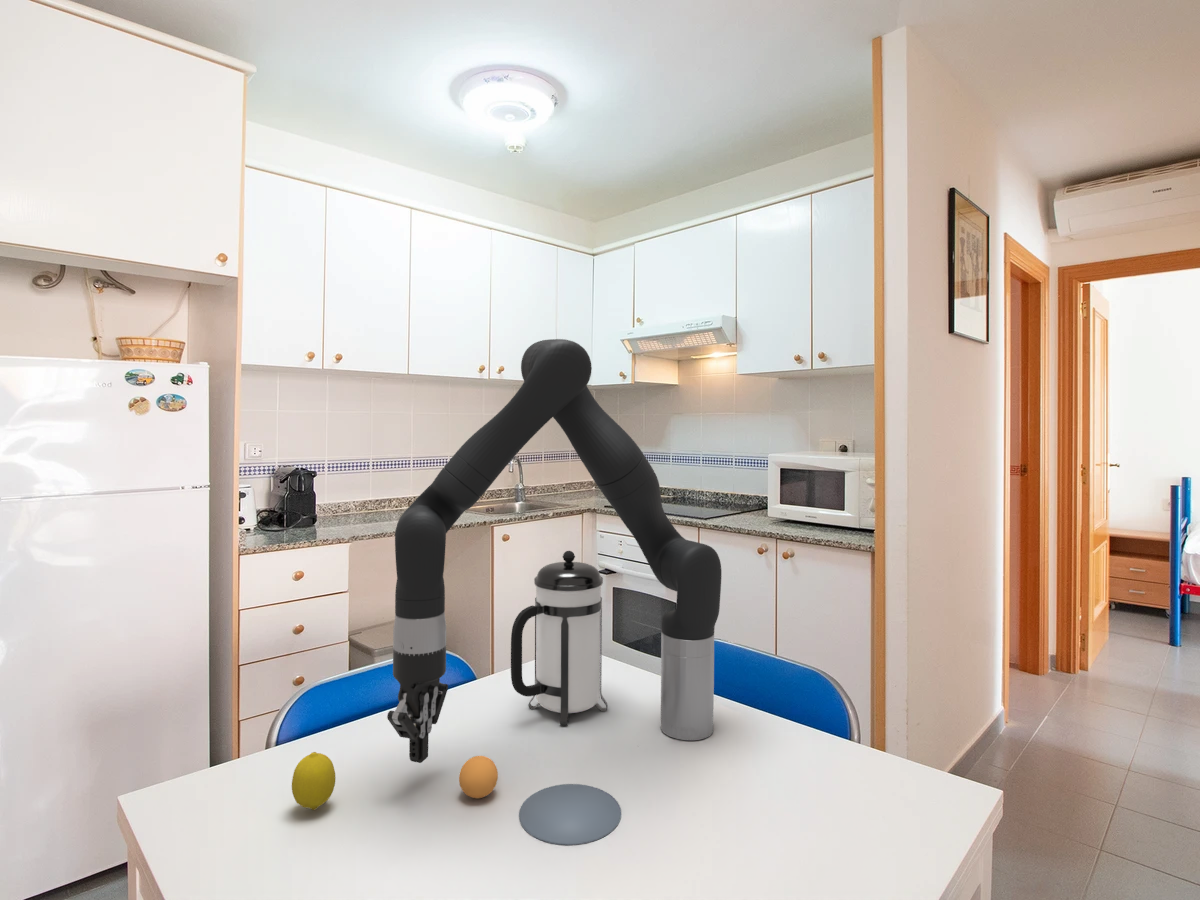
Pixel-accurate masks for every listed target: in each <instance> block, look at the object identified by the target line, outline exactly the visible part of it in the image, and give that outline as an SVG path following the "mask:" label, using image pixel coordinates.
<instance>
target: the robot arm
mask: <svg viewBox="0 0 1200 900" xmlns="http://www.w3.org/2000/svg"><path fill="white" fill-rule="evenodd" d="M520 371H521V377H522V379H523V381H524V382H523V383H522V384H521V386H520V387H519V388H518V390H517V392H516V393H515V394H514V395H513V396H512V398H511V399H510V400H509V401H508V403H507V404H506V405H504V407H503V408H502V409H501V410H500V411H499V412H497V414H496V415H494V416H493V417H492V418H491V419H489V421H487V423H485V424H484V425H483V426H481V427H480V428H479V429H478V430H476V431H475V432H474V433H473V434H472V435H471V436H469V438H468V439H467V440H466V441H465V442H464V443H463V444H462V445H461V446H460V447H459V449H458V450H457V451H456V452H455V453H454V454H453V456H452V457H451V458H450V459H449V460H448V461H447V463H446V464H445V465H444V466H443V467H442V469H441V470H440V471H439V472H438V474H437V475H436V477H435V478H434V480H433V481H432V482H431V483H430V485H429V486H428V487H426V488H425V490H424V491H423V492H422V493H420V495H419V496H418V497H416V499H415V500H413V502H412V503H411V504H410V505H409V506H408V508H406V510H404V512H403V513H402V515H400V518H399V519H398V521H397V524H396V527H395V532H394V549H395V550H394V552H395V553H394V554H395V568H396V571H395V572H396V584H395V593H394V595H395V596H394V597H395V598H394V599H395V600H394V602H395V604H394V605H395V606H394V608H395V609H394V624H393V630H392V631H393V633H392V634H393V635H392V636H393V637H392V641H393V642H392V646H393V647H392V675H393V677H394V679H395V680H396V681H397V682H398V683H399V685H400V686H399V690H398V694H397V699H398V700H397V701H398V702H399V703H398V704H397V706H396V708H395V710H389V711H388V713H387V716H386V719H387V720H388V721H389V723H390V724H391V726H392V727H393V729H394V731H395V732H396V734H398V736H399V737H400V738H403V739H409V741H408V743H409V744H408V746H409V760H410V761H411V762H412V763H419V764H421V763H423V762H425V760H426V759H428V757H429V734H431V732H432V729H433V727H432V725H437V723H438V720H439V717H440V715H441V710H442V709H443V706H444V702H445V699H446V695H447V694H448V689H449V684H448V683H443V682H441V681H440V680H441V677H443V676H445V674H446V671H447V621H446V613H445V609H446V607H445V605H446V600H445V599H446V589H445V588H446V587H445V579H444V573H445V571H444V570H445V559H446V544H447V543H446V542H447V540H446V539H447V533H448V532H449V531H450V529H451V528H452V527H453V526H454V524H455V523H456V522H457V520H459V518H460V517H461V516H462V515H463V513H465V511H466V510H469V509H471V508H472V507H473V506H475V504H476V503H477V502H478V501H479V500H480V498H481V497H482V496H483V495H484V494H485V493H486V491H488V489H489V488H490V487H491V485H493V483H494V482H495V480H496V479H497V478H498V477H499V476H500V474H501V473H502V472H503V471H504V470H505V468H506V467H507V466H508V465H509V463H510V462H511V461H512V460H513V459H514V457H515V456H516V455H517V454H518V453H519V452H520V451H521V450H522V448H523V447H524V446H526V444H527V443H529V441H530V440H531V439H532V438H534V436H535V435H536V434H537V433H538V432H539V431H540V430H541V429H542V428H543V427H544V426H545V425H547V424H548V422H549V421H550V420H551V419H552V418H553V419H554V420H555V421H556V423H557V424H558V426H560V428H561V429H562V431H563V432H564V433H565V436H566V437H567V438H568V440H569V442H570V444H571V445H572V447H573V449H574V451H575V453H576V454H577V456H578V458H579V459H580V460H581V463H582V464H583V465H584V467H585V469H586V471H588V473H589V475H590V476H591V478H592V480H593V481H594V483H595V484H596V486H597V487H598V488H599V490H600V491H601V493H602V495H603V496H604V497H605V499H606V500H607V501H608V503H609V504H610V505H611V507H612V508H613V509H614V511H615V513H616V514H617V515H618V517H619V518H620V520H621V522H622V523H623V524H624V525H625V527H626V528H627V529H628V530H629V532H630V533H631V535H632V536H633V537H634V540H635V541H636V542H637V545H638V547H639V548H640V551H641V552H642V554H643V557H644V558H645V560H646V562H647V563H648V565H649V567H650V569H651V571H652V573H653V574H654V576H655V578H656V579H657V580H658V582H659V583H660V584H661V585H663V586H664V587H665V588H666V589H670V590H672V591H675V592H676V602H675V603H676V604H675V609H673V610H670V611H667V612H665V613H664V614H663V615H662V617H661V625H660V626H661V629H660V630H661V631H660V632H661V633H660V635H661V637H660V638H661V639H660V643H661V645H660V649H661V650H660V651H661V652H660V730H661V731H662V732H663V733H664V734H665V735H667V736H668V737H671V738H673V739H675V740H676V739H677V740H681V741H699V740H703V739H707V738H709V737H710V736H712V734H713V732H714V707H715V706H714V701H715V700H714V699H715V698H714V697H715V695H714V693H715V692H714V691H715V689H714V688H715V626H716V623H717V620H718V618H719V614H720V607H721V606H720V605H721V593H722V592H721V591H722V564H721V559H720V556H719V554H718V553H717V550H715V549H714V548H713V547H712V546H709V545H708V544H705V543H701V542H698V541H693V540H688V539H686V538H684V537H683V536H682V535H681V534H680V533H679V531H677V529H676V527H674V525H673V524H672V522H671V521H670V520H669V518H668V515H666V513H665V510H664V507H663V504H662V497H661V496H662V494H661V488H660V487H661V486H660V483H659V479H658V477H657V474H656V473H655V470H654V469H653V466H652V465H651V464H650V462H649V461H648V459H647V457H646V456H645V454H644V452H643V451H642V450H641V448H640V447H639V446H638V444H637V443H636V441H634V439H633V438H632V437H631V436H630V435H629V434H628V433H627V431H625V430H624V429H623V428H622V427H621V426H620V425H619V424H618V423H617V422H616V421H615V420H614V419H613V418H612V417H611V416H610V415H609V414H608V413H607V412H606V411H605V410H604V409H603V408H602V407H601V406H600V404H599V403H598V401H596V399H595V398H594V396H593V394H592V392H591V391H590V389H589V387H588V386H587V385H588V384H589V381H590V379H591V377H592V361H591V358H590V355H589V354H588V351H587V350H586V349H585V348H584V347H583V346H582V345H580V344H579V343H577V342H575V341H573V340H571V339H570V340H569V339H566V338H565V339H563V338H562V339H561V338H556V339H555V338H554V339H543V340H539V341H536V342H534V343H532V344H531V345H530V346H528V347H527V348H526V349H525V351H524V353H523V355H522V357H521V362H520Z"/></svg>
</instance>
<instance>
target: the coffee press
mask: <svg viewBox="0 0 1200 900" xmlns="http://www.w3.org/2000/svg"><path fill="white" fill-rule="evenodd" d="M575 558H576V556H575V554H574V552H573V551H572V550H566V551H565V552H563V554H562V559H563V561H559V562H557V561H556V562H554V563H553V562H552V563H549V564H546V565H544V566H543V567H541V568H540V569H539V571H538V572H537V574H536V576H535V577H534V579H533V580H534V581H533V582H534V585H535V587H536V588H535V589H536V590H535V591H536V592H535V593H536V595H535V596H536V597H534V605H530V606H527V607H525V608H523V609H522V610H521V611H520V612H519V613H518V614H517V616H516V617H515V619H514V622H513V624H512V627H511V633H510V634H511V637H510V679H511V680H510V681H511V685H512V687H513V689H514V690H515V692H517V694H519V695H520V696H524V697H532V698H531V699H530V700H529V702H528V709H530V710H531V711H533V710H535V709H537V708H538V707H539V706H541V707H542V708H544V709H545V710H548V711H551V712H554V713H558V714H559V713H560V715H559V726H561V727H562V726H563V727H564V726H566V727H568V726H569V716H570V714H574V713H575V714H576V713H580V712H581V713H582V712H585V711H587V710H589V709H592V708H593V707H596V708H597V709H598V710H599V711H600V712H602V713H605V712H606V711H607V710H608V705H609V704H608V702H607V700H606V699H605V698H604V696H603V693H602V692H603V691H602V676H603V675H602V665H603V664H602V654H603V653H602V650H603V649H602V648H603V646H602V644H603V642H602V641H603V640H602V639H603V636H602V635H603V634H602V633H603V632H602V631H603V625H602V623H603V597H602V596H601V595H602V594H601V593H602V585H603V584H604V583H603V582H604V578H603V576H601V574H600V571H599V570H598V568H596V567H595V566H593V565H591V564H589V563H586V562H581V561H574V560H575ZM532 618H534V684H530V685H526V684H525V683H524V680H523V633H524V628H525V625H526V623H528V621H529V620H530V619H532ZM535 697H536V700H537V703H536V704H535V705H532V704H531V702H533V700H534V699H535ZM600 699H601V701H602V702H603V704H604V705H605V707H602V706H601V705H600V704H599V703H598V702H599V701H600Z"/></svg>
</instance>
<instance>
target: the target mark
mask: <svg viewBox="0 0 1200 900" xmlns="http://www.w3.org/2000/svg"><path fill="white" fill-rule="evenodd" d="M621 818H622V809H621V806H620V804H619V802H618V801H617V799H616V798H615V797H614V796H613V795H612V794H610V793H609V792H608V791H605V790H603V789H601V788H598V787H595V786H592V785H588V784H579V783H565V784H564V783H563V784H556V785H552V786H549V787H545V788H541V789H539V790H537V791H535V792H534V793H533V794H530V796H528V797H527V798H526V799H525V800H524V801H523V803H522V804H521V805H520V807H519V812H518V820H519V822H520V826H521V827H522V828H523V829H524V831H525V832H526V833H527V834H529V836H532V838H534V839H537V840H539V841H542V842H544V843H548V844H553V845H559V846H560V845H561V846H577V845H585V844H589V843H593V842H596V841H598V840H601V839H602V838H605V837H606V836H608V835H610V834H611V833H612V832H613V831H615V829H616V828H617V827H618V825H619V824H620V821H621Z"/></svg>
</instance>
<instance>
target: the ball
mask: <svg viewBox="0 0 1200 900" xmlns="http://www.w3.org/2000/svg"><path fill="white" fill-rule="evenodd" d="M498 779H499V771H498V768H497V765H496V764H495V762H494V761H493V760H492V759H491V758H489V757H488V756H485V755H476V756H472V757H471V758H469V759H468V760H466V761H465V762H464V763H463V765H462V766H461V769H460V771H459V775H458V783H459V786H460V788H461V791H462V792H463V793H464V794H465V795H466V796H467V797H470V798H472V799H481V798H484V797H487V796H488V795H489V794H491V793H492V792H493V791H494V789H495V787H496V785H497V783H498Z"/></svg>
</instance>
